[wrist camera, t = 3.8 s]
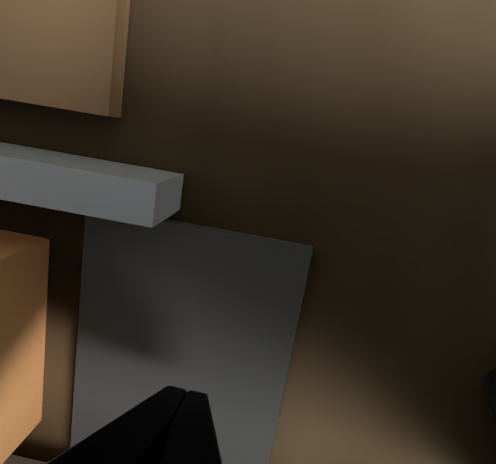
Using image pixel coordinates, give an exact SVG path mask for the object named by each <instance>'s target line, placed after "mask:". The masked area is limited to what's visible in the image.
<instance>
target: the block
mask: <svg viewBox="0 0 496 464" xmlns="http://www.w3.org/2000/svg"><path fill="white" fill-rule="evenodd" d="M49 246H50V239H47V238H42V237H36V236H31V235H26V234H21V233H16V232H11V231H5V230H0V464H3V463H4V462H5V460H6V459H7V458H8V457H9V456H10V455H11V454H12V453H13V451H14V450H15V449H16V448H17V447H18V446H19V445H20V444H21V443H22V441H23V440H24V439H25V438H26V437H27V436H28V435H29V434H30V432H31V431H32V430H33V429H34V428H35V427H36V426H37V425H38V423H39V422H40V421H41V419H42V397H43V376H44V354H45V332H46V311H47V289H48V268H49Z"/></svg>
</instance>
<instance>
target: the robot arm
mask: <svg viewBox="0 0 496 464" xmlns="http://www.w3.org/2000/svg"><path fill="white" fill-rule="evenodd" d="M46 464H222V459H221V454H220V450H219V445H218V440H217V436H216V431H215V426H214V422H213V417H212V412H211V407H210V403H209V398H208V395H207V394H206V393H202V392H198V391H193V390H189V391H188V392H187V390H186V389H184V388H179V387H175V386H166V387H164V388H163V389H161V390H160V391H158V392H157V393H155V394H153V395H152V396H150V397H149V398H147V399H146V400H144V401H143V402H141V403H139V404H138V405H136V406H135V407H133V408H132V409H130V410H129V411H127V412H125V413H124V414H122V415H121V416H119V417H118V418H116V419H114V420H113V421H111V422H110V423H108V424H107V425H105V426H104V427H102V428H100V429H99V430H97V431H96V432H94V433H93V434H91V435H90V436H88V437H86V438H85V439H83V440H82V441H80V442H79V443H77V444H75V445H74V446H72V447H71V448H69V449H68V450H66V451H65V452H63V453H61V454H60V455H58V456H57V457H55V458H54V459H52V460H51V461H49V462H47V463H46Z"/></svg>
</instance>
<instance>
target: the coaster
mask: <svg viewBox="0 0 496 464" xmlns="http://www.w3.org/2000/svg"><path fill="white" fill-rule="evenodd" d="M129 12H130V0H0V98H1V99H7V100H13V101H19V102H25V103H31V104H37V105H43V106H49V107H55V108H61V109H67V110H73V111H79V112H85V113H91V114H97V115H103V116H109V117H119V118H121V110H122V98H123V86H124V74H125V61H126V49H127V37H128V24H129Z"/></svg>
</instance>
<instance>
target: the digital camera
mask: <svg viewBox="0 0 496 464" xmlns="http://www.w3.org/2000/svg"><path fill="white" fill-rule="evenodd" d="M484 383H485V385H486V386H487V390H488V393H489V396H490V399H491V402H492V406H493V409H494V412H495V415H496V371H493V372H490V373H488V374H487V375H486V376H485V377H484Z"/></svg>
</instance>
